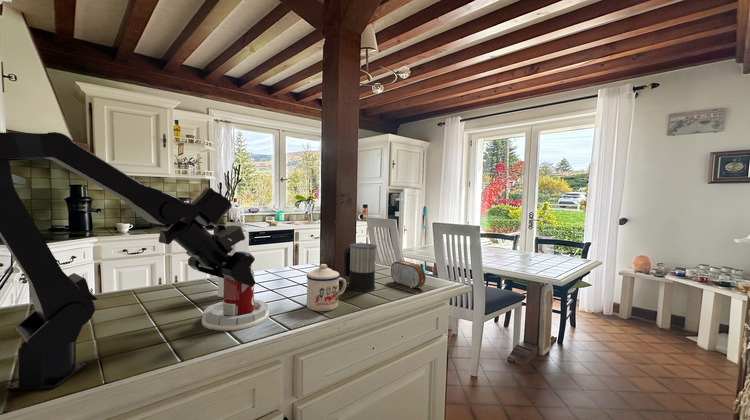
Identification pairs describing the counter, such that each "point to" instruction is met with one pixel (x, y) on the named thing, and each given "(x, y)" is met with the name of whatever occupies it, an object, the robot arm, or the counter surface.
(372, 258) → the milk frother
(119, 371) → the counter surface
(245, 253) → the robot arm
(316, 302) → the teacup with lid
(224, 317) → the ring tray
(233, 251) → the milk
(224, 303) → the soda can
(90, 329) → the counter surface
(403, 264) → the tin
